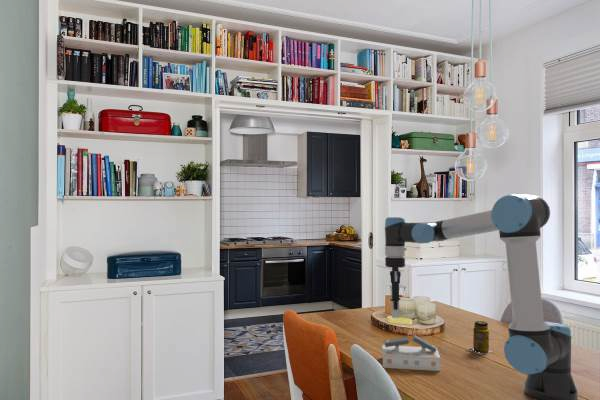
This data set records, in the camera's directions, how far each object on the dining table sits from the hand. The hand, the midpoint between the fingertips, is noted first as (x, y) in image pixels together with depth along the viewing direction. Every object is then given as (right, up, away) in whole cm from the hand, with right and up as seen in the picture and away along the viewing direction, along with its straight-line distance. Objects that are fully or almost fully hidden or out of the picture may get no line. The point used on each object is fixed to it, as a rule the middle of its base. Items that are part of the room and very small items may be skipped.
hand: (395, 317), depth 185 cm
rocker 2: (+10, -10, -3) cm, 14 cm away
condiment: (+38, -18, +14) cm, 44 cm away
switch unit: (+5, -17, -2) cm, 18 cm away
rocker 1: (0, -10, -1) cm, 10 cm away
